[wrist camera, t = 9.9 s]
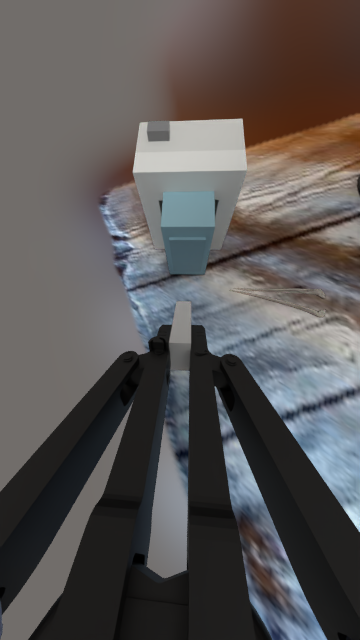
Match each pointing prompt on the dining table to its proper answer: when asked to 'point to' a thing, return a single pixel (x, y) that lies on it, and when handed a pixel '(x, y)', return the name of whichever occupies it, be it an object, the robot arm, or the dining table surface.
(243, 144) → the socket
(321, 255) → the dining table surface
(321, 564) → the robot arm
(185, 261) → the plug
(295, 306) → the tweezers
